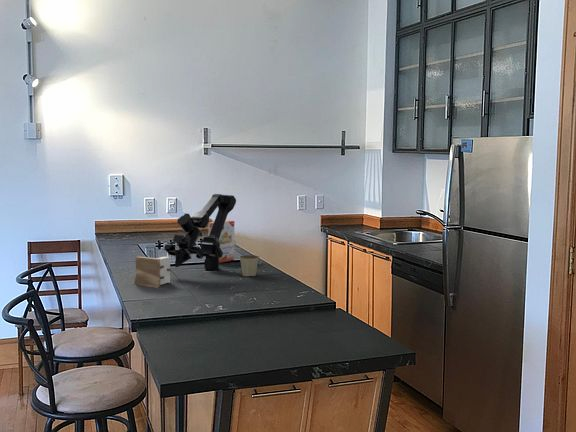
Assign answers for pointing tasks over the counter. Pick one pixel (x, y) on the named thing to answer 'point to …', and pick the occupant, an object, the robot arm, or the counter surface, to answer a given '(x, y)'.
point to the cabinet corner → (148, 272)
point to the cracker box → (225, 240)
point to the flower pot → (249, 264)
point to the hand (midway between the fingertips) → (176, 266)
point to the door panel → (165, 270)
